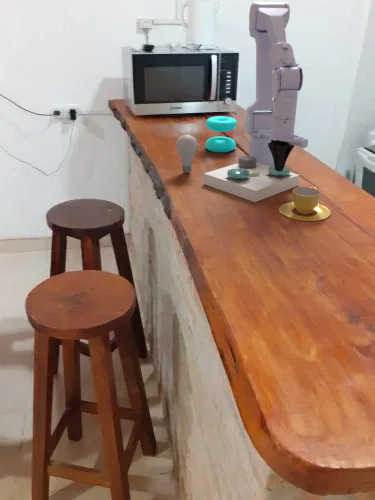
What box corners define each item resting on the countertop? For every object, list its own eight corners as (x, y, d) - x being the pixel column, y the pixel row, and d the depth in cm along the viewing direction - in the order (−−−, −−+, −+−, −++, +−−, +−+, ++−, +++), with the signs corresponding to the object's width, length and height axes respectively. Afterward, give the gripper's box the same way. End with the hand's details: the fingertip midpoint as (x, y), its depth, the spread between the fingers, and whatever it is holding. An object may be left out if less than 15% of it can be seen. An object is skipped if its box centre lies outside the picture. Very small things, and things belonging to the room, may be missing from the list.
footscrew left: (275, 181, 140) (277, 164, 138) (292, 186, 136) (294, 169, 134) (262, 185, 137) (264, 168, 134) (279, 191, 133) (281, 173, 131)
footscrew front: (236, 184, 137) (237, 167, 135) (252, 189, 134) (253, 172, 132) (222, 189, 134) (222, 171, 132) (238, 194, 130) (239, 176, 128)
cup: (326, 226, 114) (330, 203, 111) (274, 218, 118) (275, 196, 115) (333, 207, 124) (336, 186, 121) (284, 200, 128) (286, 180, 125)
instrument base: (247, 170, 149) (248, 153, 146) (298, 185, 137) (300, 167, 135) (203, 184, 138) (204, 166, 135) (254, 202, 126) (256, 182, 124)
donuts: (202, 116, 167) (231, 114, 169) (201, 146, 172) (230, 144, 174) (211, 123, 158) (241, 121, 161) (210, 154, 163) (239, 152, 165)
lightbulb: (195, 177, 143) (195, 138, 138) (173, 175, 144) (173, 137, 139) (199, 170, 148) (199, 132, 143) (178, 169, 149) (178, 131, 144)
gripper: (251, 114, 130) (248, 166, 137) (298, 124, 121) (292, 179, 127) (268, 111, 135) (265, 160, 141) (315, 120, 125) (309, 173, 131)
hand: (279, 169), depth 134 cm, fingers closed, pressing on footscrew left
